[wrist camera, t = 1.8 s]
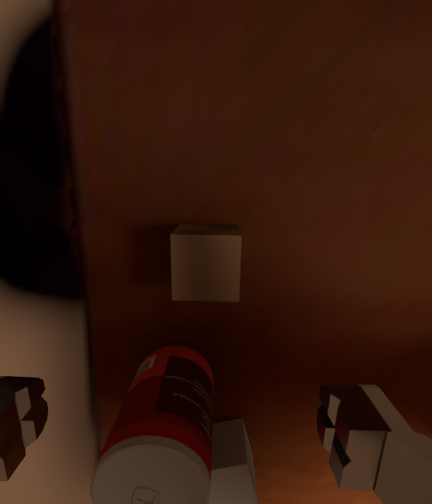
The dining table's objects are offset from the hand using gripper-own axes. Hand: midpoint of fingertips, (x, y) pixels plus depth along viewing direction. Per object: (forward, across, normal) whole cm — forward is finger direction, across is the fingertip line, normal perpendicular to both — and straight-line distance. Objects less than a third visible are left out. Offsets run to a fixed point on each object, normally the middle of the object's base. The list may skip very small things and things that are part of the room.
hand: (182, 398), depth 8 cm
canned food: (+18, +3, +13) cm, 22 cm away
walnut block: (+17, 0, 0) cm, 17 cm away
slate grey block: (+17, -2, +21) cm, 27 cm away
